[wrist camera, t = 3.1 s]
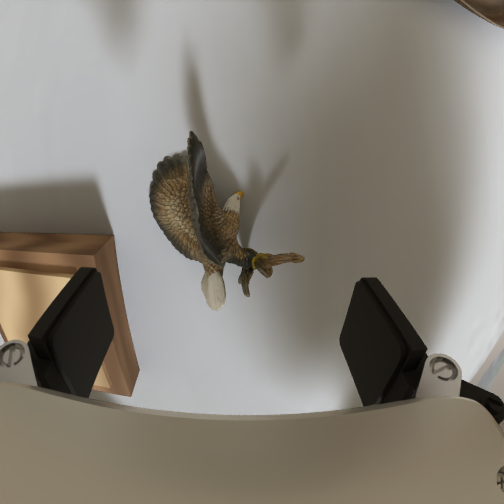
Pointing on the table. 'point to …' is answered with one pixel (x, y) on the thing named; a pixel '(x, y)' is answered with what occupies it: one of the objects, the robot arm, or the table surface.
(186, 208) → the eagle figurine
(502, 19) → the plant saucer
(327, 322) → the table surface
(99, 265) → the walnut tray
